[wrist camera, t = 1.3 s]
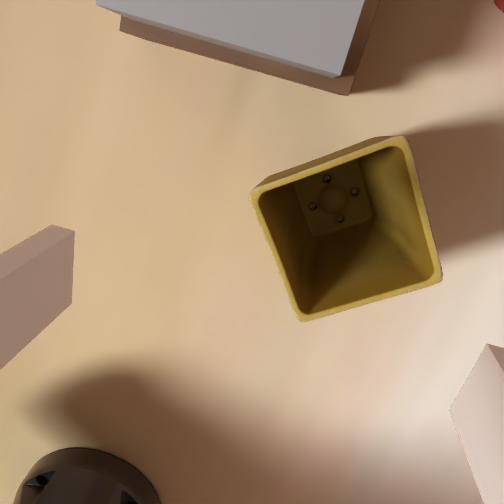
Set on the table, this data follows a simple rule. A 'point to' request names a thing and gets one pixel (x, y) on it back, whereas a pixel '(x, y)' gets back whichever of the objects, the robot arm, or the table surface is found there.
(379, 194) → the flower pot
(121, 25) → the walnut base slab
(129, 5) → the grey top slab
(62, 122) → the table surface
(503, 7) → the stacking bear
